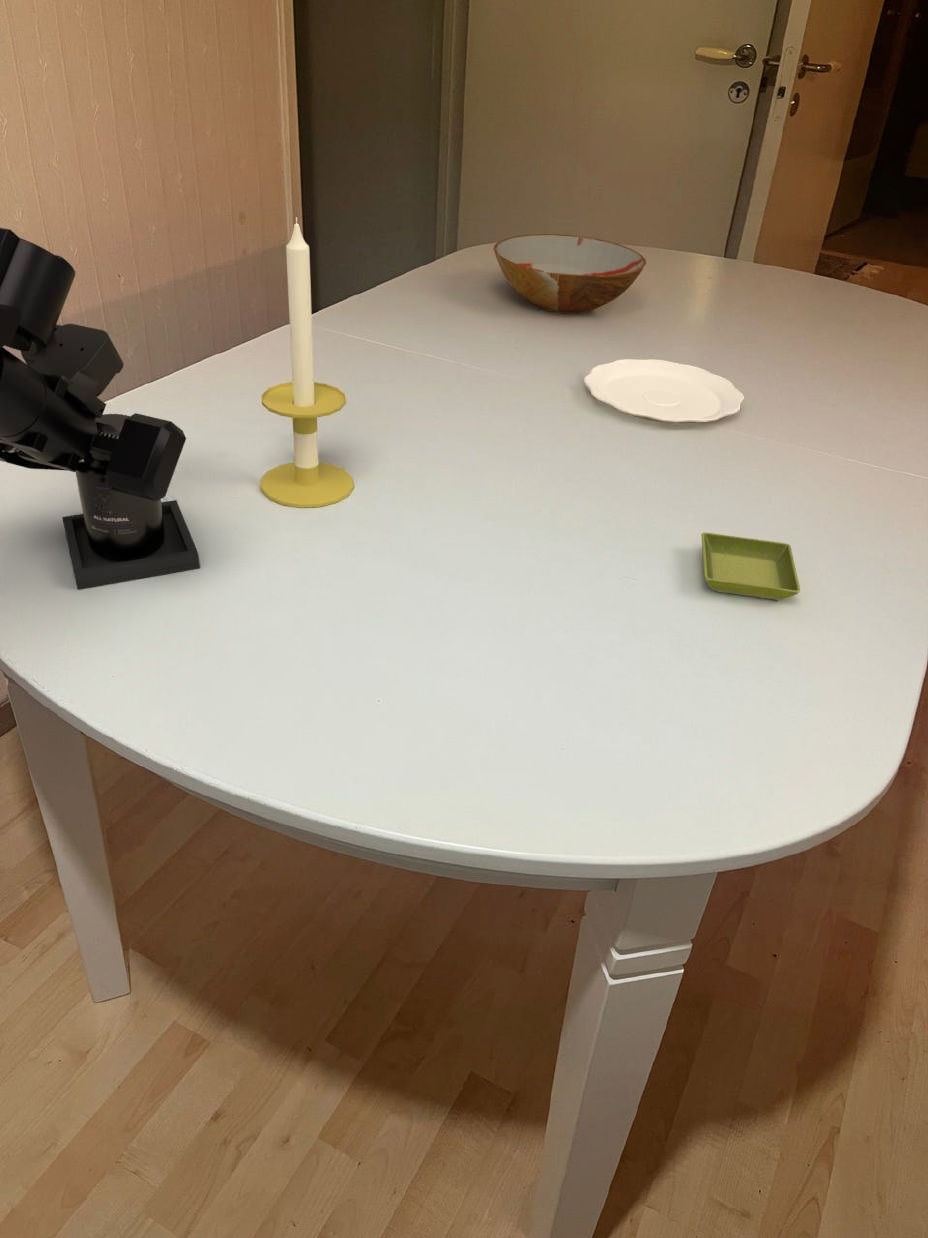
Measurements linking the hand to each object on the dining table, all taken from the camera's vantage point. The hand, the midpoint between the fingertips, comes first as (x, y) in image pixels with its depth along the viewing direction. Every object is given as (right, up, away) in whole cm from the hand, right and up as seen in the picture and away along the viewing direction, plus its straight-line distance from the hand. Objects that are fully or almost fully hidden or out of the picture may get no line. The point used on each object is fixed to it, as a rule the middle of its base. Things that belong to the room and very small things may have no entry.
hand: (128, 474), depth 83 cm
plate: (+57, +16, +41) cm, 72 cm away
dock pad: (-1, -6, +3) cm, 7 cm away
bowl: (+47, +40, +73) cm, 96 cm away
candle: (+13, +1, +16) cm, 21 cm away
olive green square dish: (+57, -9, +6) cm, 58 cm away
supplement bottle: (-1, -6, +3) cm, 7 cm away
